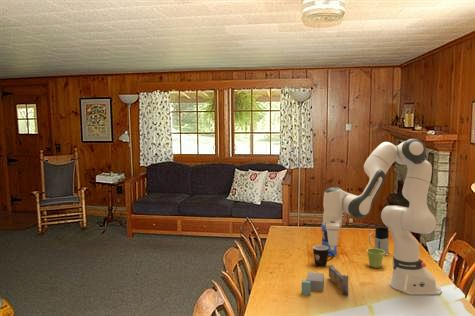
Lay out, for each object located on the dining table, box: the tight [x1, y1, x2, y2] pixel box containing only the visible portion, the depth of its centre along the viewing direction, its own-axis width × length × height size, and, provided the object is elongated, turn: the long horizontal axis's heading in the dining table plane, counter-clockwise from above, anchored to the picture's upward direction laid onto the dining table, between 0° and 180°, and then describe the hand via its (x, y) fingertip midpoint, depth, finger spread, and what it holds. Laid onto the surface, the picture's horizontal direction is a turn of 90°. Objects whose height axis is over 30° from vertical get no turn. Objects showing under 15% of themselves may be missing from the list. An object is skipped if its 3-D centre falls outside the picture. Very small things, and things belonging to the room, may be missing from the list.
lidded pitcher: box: [368, 227, 390, 255], centre depth 232 cm, size 9×14×15 cm, turn 112°
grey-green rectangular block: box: [301, 279, 312, 296], centre depth 180 cm, size 4×2×6 cm, turn 77°
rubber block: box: [305, 271, 325, 292], centre depth 188 cm, size 8×10×5 cm
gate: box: [328, 264, 344, 293], centre depth 189 cm, size 18×2×6 cm, turn 7°
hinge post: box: [342, 274, 349, 297], centre depth 178 cm, size 2×2×9 cm
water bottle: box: [321, 222, 338, 257], centre depth 232 cm, size 9×9×25 cm
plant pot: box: [366, 247, 385, 269], centre depth 213 cm, size 9×9×9 cm
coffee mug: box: [312, 244, 335, 268], centre depth 215 cm, size 12×9×10 cm
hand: (332, 249), depth 185 cm, fingers closed
